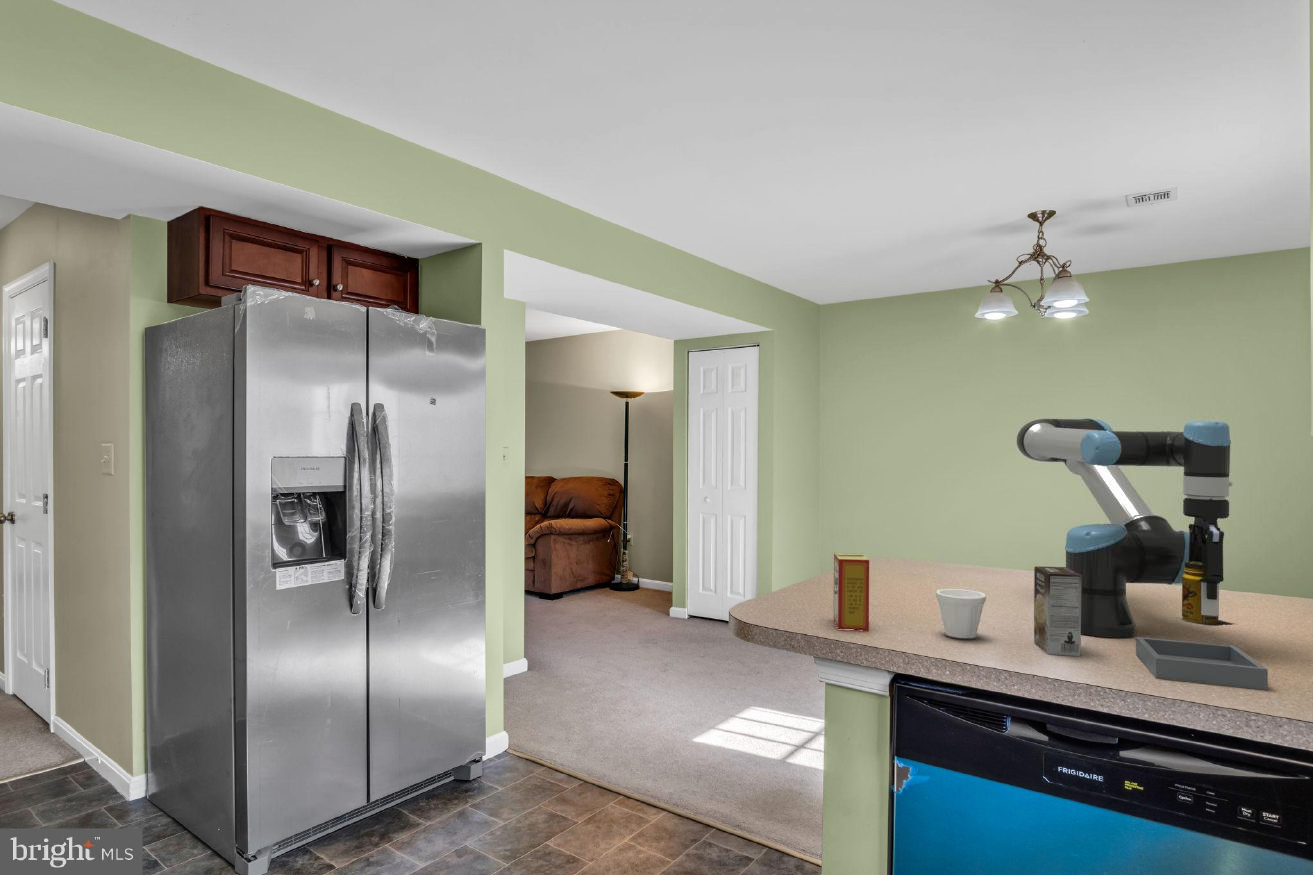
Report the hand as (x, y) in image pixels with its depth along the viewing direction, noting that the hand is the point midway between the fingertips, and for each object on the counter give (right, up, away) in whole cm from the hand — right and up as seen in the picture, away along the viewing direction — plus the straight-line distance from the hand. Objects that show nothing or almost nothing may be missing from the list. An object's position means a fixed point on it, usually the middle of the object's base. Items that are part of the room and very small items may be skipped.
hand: (1204, 611), depth 150 cm
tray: (-12, -7, -15) cm, 21 cm away
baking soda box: (-67, -7, +17) cm, 70 cm away
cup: (-46, -8, +9) cm, 47 cm away
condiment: (0, -2, 0) cm, 2 cm away
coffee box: (-31, -8, -1) cm, 31 cm away
